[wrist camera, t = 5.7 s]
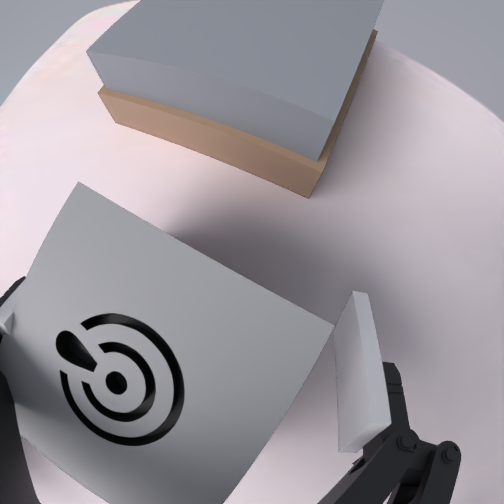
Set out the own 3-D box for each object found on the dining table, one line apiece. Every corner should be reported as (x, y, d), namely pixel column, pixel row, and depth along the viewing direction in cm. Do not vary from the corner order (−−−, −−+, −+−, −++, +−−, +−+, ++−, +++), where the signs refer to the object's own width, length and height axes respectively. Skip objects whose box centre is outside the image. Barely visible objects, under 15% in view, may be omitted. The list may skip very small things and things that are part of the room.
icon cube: (85, 369, 18) (-15, 396, 8) (152, 242, 20) (78, 181, 10) (212, 448, 17) (189, 544, 7) (289, 319, 19) (335, 325, 9)
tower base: (365, 60, 23) (391, -2, 15) (308, 198, 20) (342, 134, 12) (212, 12, 24) (207, -49, 16) (115, 122, 21) (75, 56, 13)
